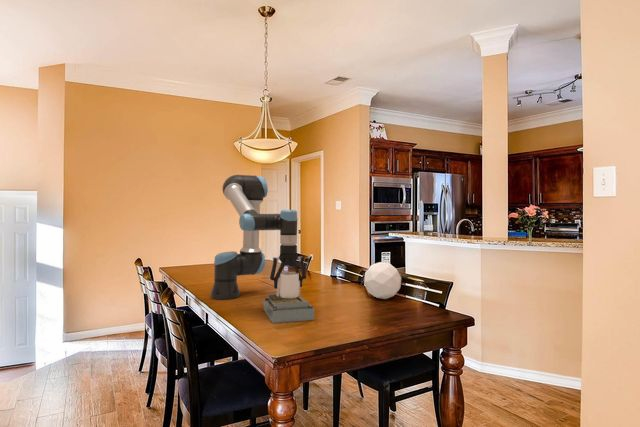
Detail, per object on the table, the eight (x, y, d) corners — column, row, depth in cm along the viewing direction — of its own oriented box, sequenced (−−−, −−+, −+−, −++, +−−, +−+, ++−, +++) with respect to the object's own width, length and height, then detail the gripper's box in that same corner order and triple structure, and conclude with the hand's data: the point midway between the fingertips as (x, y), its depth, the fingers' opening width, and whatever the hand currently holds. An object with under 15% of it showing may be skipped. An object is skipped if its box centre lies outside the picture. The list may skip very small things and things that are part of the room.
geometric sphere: (382, 308, 216) (393, 276, 225) (401, 303, 198) (412, 268, 207) (353, 291, 213) (365, 260, 222) (369, 285, 196) (382, 251, 205)
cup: (290, 299, 168) (290, 275, 168) (269, 295, 175) (269, 272, 175) (302, 296, 175) (302, 273, 175) (282, 292, 182) (282, 270, 182)
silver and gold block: (263, 309, 183) (263, 293, 183) (301, 307, 188) (301, 291, 188) (272, 323, 162) (272, 305, 162) (314, 319, 167) (314, 302, 167)
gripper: (266, 245, 168) (265, 298, 168) (314, 244, 174) (313, 295, 175) (263, 244, 175) (262, 294, 175) (309, 243, 182) (308, 292, 182)
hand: (288, 295), depth 175 cm, fingers closed on cup, 9 cm apart
